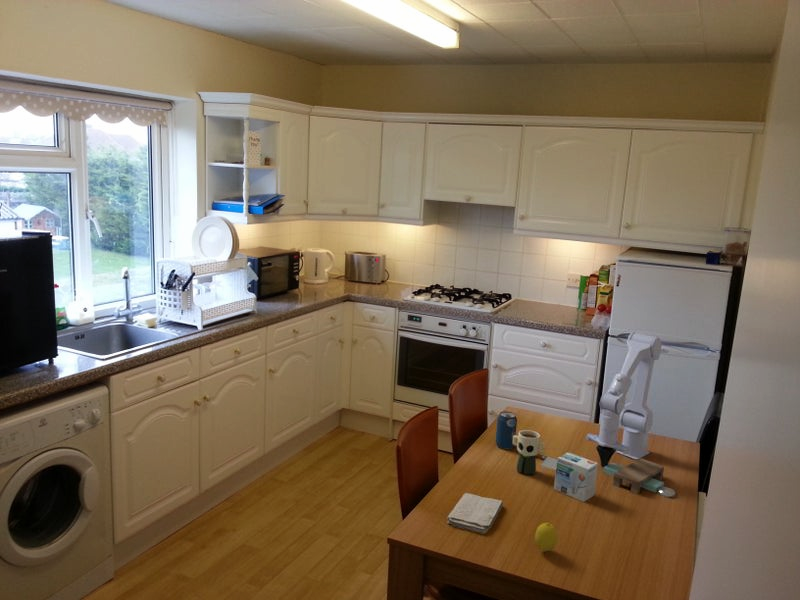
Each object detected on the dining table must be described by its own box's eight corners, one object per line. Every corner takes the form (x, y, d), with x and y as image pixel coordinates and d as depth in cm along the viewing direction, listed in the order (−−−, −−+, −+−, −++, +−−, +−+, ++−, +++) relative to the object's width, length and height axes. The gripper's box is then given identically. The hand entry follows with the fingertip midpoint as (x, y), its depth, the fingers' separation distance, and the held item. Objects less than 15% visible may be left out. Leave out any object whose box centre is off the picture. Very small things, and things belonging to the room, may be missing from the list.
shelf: (639, 469, 222) (641, 458, 221) (662, 478, 216) (664, 466, 215) (613, 484, 209) (614, 472, 209) (636, 494, 204) (638, 482, 203)
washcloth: (445, 526, 180) (445, 516, 179) (463, 498, 196) (464, 488, 196) (487, 537, 175) (488, 526, 175) (502, 507, 192) (503, 497, 191)
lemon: (531, 545, 172) (534, 517, 170) (551, 545, 172) (555, 517, 171) (537, 557, 167) (540, 528, 165) (558, 557, 167) (561, 529, 165)
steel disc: (662, 488, 209) (662, 485, 208) (677, 495, 205) (677, 491, 205) (654, 493, 205) (654, 489, 205) (669, 499, 202) (670, 496, 202)
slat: (611, 467, 222) (612, 462, 222) (663, 487, 209) (663, 482, 209) (603, 471, 218) (603, 466, 218) (655, 492, 206) (656, 487, 205)
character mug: (506, 470, 215) (509, 433, 212) (514, 463, 221) (517, 426, 218) (538, 480, 210) (542, 441, 207) (545, 472, 216) (549, 434, 213)
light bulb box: (552, 489, 204) (556, 457, 202) (563, 483, 209) (567, 451, 207) (584, 502, 197) (588, 469, 195) (594, 495, 202) (599, 462, 199)
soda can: (516, 450, 231) (519, 418, 229) (496, 449, 231) (499, 417, 229) (513, 442, 238) (516, 411, 236) (493, 441, 238) (496, 410, 236)
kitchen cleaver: (512, 457, 225) (524, 446, 233) (511, 460, 225) (523, 449, 233) (581, 479, 211) (591, 467, 219) (581, 482, 212) (591, 470, 220)
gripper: (583, 424, 220) (578, 462, 222) (623, 438, 210) (618, 477, 212) (594, 419, 225) (589, 456, 227) (634, 433, 214) (628, 472, 217)
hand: (604, 466), depth 220 cm, fingers closed
